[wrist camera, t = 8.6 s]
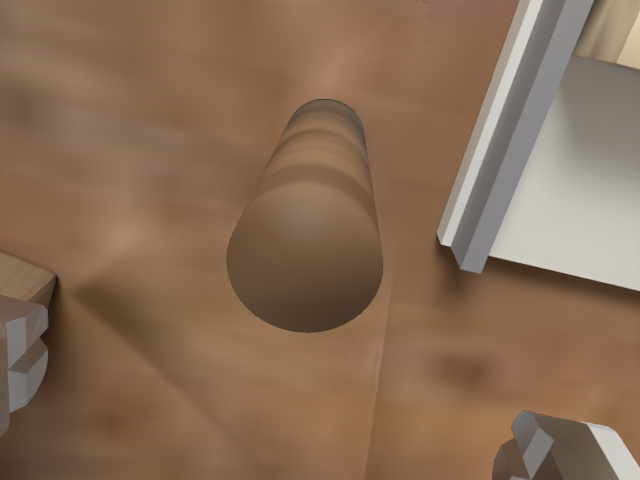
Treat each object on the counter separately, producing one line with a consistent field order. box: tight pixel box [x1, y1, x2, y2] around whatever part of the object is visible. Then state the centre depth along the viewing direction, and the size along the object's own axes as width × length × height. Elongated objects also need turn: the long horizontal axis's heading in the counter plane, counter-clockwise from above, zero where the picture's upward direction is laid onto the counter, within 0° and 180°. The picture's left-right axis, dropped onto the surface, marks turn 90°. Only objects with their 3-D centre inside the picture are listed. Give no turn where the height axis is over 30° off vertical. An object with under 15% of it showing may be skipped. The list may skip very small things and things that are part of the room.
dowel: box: [226, 99, 383, 333], centre depth 19 cm, size 4×4×14 cm
